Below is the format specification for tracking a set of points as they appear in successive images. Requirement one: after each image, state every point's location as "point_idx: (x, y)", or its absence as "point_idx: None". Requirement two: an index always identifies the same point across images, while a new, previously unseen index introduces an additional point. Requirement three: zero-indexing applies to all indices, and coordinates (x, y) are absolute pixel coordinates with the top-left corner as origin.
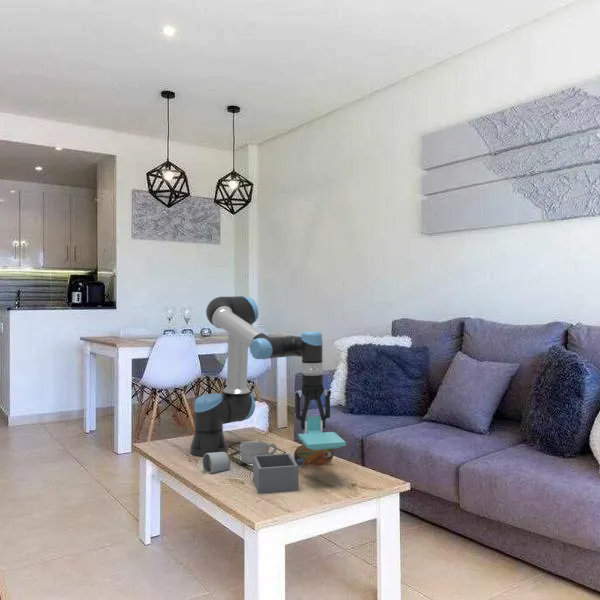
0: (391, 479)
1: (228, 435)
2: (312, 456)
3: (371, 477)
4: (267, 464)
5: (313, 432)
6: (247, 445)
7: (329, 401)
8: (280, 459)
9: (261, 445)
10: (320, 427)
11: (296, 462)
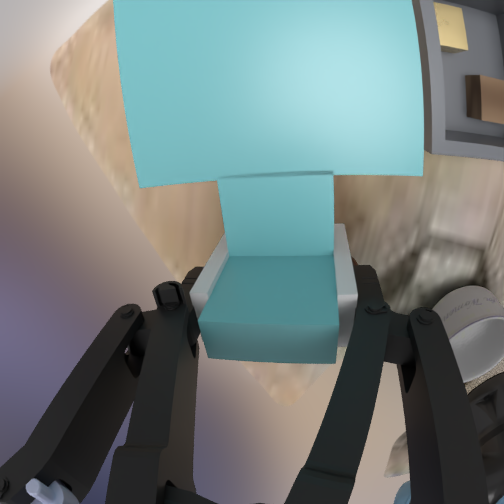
0: (66, 99)
1: (408, 463)
2: None
3: (109, 115)
4: (502, 142)
5: (294, 193)
6: (474, 369)
7: (48, 413)
8: (465, 139)
9: None
10: (223, 263)
11: (351, 256)
